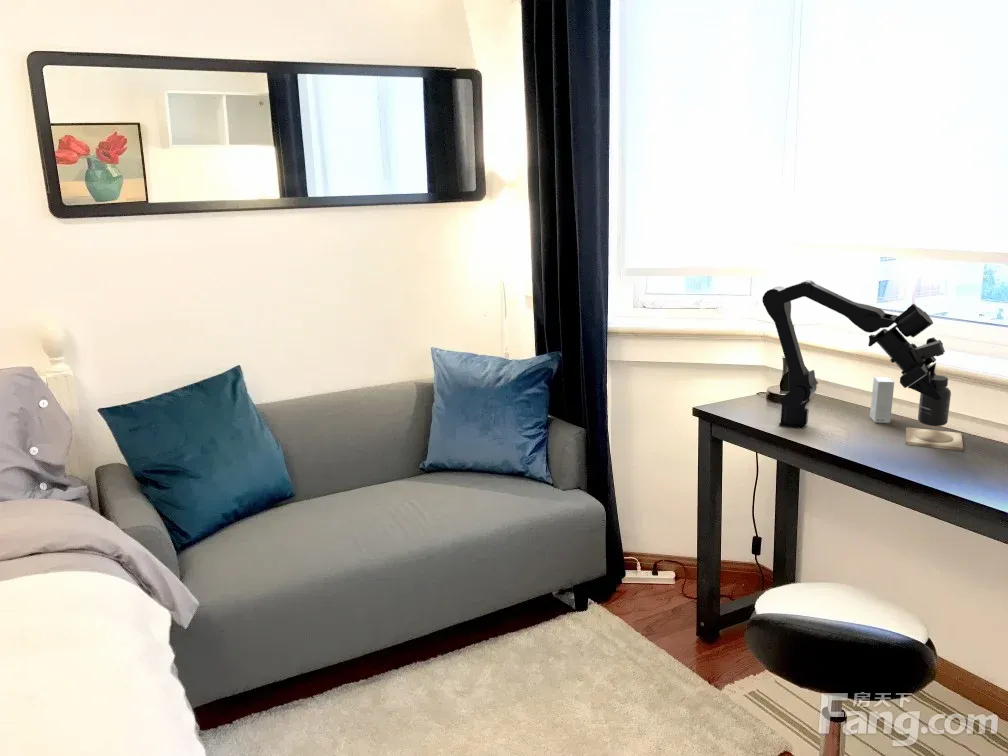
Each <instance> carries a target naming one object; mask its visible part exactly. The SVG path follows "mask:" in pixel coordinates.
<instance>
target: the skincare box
mask: <svg viewBox="0 0 1008 756" xmlns="http://www.w3.org/2000/svg"><path fill="white" fill-rule="evenodd" d="M894 387H895V381H893V380H892V379H891V378H890V377H888V376H887V377H885V376H884V377H883V376H873V383H872V391H871V392H872V393H871V403H870V411H869V418H870V419H871V420H872V421H873V422H874V423H877V424H883V423H884V424H890V423H891V417H892V408H893V407H892V406H893V399H894V398H893V397H894Z"/></svg>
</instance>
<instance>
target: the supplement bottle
mask: <svg viewBox="0 0 1008 756" xmlns="http://www.w3.org/2000/svg"><path fill="white" fill-rule="evenodd" d="M930 381H931V383H932V384H933V386H934V387H935V389H936V390H937V392H938V393H939V395H940V397H941V399H939V400H935V399H933V398H931V397H929V396H927V395H924V394H922V393H920V392H919V393H920V394H919V404H918V412H917V413H918V415H917V420H918V422H919V423H920V424H923V425H927V426H929V427H930V426H932V427H941V426H942V427H943V426H946V424H947V423H948V421H949V415H950V414H949V412H950V405H951V396H952V392H951V389H950V388H948V384H949V378H948V377H947V376H945V375H940V374H936V375H930Z"/></svg>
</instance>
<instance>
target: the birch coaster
mask: <svg viewBox="0 0 1008 756" xmlns="http://www.w3.org/2000/svg"><path fill="white" fill-rule="evenodd" d="M905 429H906V430H905V445H909V446H918V447H926V448H935V449H943V450H952V451H960V452H963V451H964V444H963V436H962V433H961V432H954V431H945V430H936V429H925V428H916V427H906V428H905Z"/></svg>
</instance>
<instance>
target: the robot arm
mask: <svg viewBox="0 0 1008 756" xmlns="http://www.w3.org/2000/svg"><path fill="white" fill-rule="evenodd" d="M804 297H805V298H807V299H809V300H812V301H813V302H816V303H817V304H820V305H822V306H824V307H826V308H828V309H830V310H832V311H834V312H836V313H838V314H840V315H842V316H844V317H846V318H847V319H848V320H849V321H850V322H852V323H853V324H854V325H855V326H856V327H857V328H859V329H860V330H862V331H864V332H865V333H870V335H869V336H868V345H867V346H868V347H872V346H874V345H875V344H877V345H879V346H880V348H881V349H882V350H883V351H884V352H885V353H886V355H888V356H889V357H890V359H889V361H890V362H891V364H894V363H895V364H896V366H898V368H899V369H900V370H901V376H900V378H899V384H900V385H901V386H902V387H903V388H904V389H906V388H908V389H911V390H913V391H916V392H918V393H922V394H924V395H927V396H929V397H931V398H933V399H935V400H939V399H941V397H940V395H939V393H938V392H937V390H936V389H935V387H934V386H933V384H932V383H931V381H930V375H937V373H936V366H937V362H936V361H937V359H936V357H940V356H942V355H944V354H945V353H946V350H945V348H944V345H943V344H944V343H943V342H942V341H941V340H940V339H936V338H935V337H930V338H927V340H926V343H924V344H921V345H919V346H917V345H916V344H915V343H910V342H909V341H908V340H907V339H906V338H909V337H911V338H916V337H917V336H918V335H919V334H921V333H922V332H923V331H925V330H927V329H928V328H929V327H930V326H932V325H933V324H934V322H933V319H932V318H931V316H929V314H928V313H927V312H926V311H924V310H923V309H921V308H920V307H918V306H917V304H915V303H912V304H911V305H910V306H908V307H907V309H906V310H904V311H903V312H901V313H900V314H899V315H896V314H892V313H886V312H885V311H884V310H883V309H881V308H879V307H876V306H873V305H869V304H865V303H859V302H856V301H852V300H851V299H848V298H847V297H844V296H842V295H841V294H838V293H836V292H834V291H831V289H827V288H825V287H823V286H821V285H820V284H817V283H815V282H814V281H813V280H809V279H808V280H807V279H806V280H805V281H802V282H800V283H797V284H794V285H791V286H788V287H784V286H776V287H773V288H771V289H768V290H767V291H765V293H764V294H763V296H762V298H761V299H762V304H763V307H764V308H765V309H766V312H767V314H768V315H769V316H770V318H771V320H773V323H774V324H775V328H776V331H777V336H778V338H779V342H780V345H781V349H782V353H783V355H784V360H785V362H786V366H787V369H788V376H787V377H788V378H787V379H788V380H787V385H788V392H786V393H785V394H784V395H783V396H782V397H780V398H779V399H780V400H779V401H780V404H781V412H780V422H779V423H778V426H781V427H788V428H793V429H794V428H795V429H804V428H805V426H806V425H807V424H808V423H809V412H810V410H809V408H808V403H807V401H808V399H810V398H811V397H813V395H814V394H815V393H816V391H817V385H818V384H819V382H818V381H817V378H816V374H815V370H814V369H812V370H809V369H808V368H807V367H806V365H805V362H804V359H803V355H802V352H801V349H800V348H801V347H800V344H799V341H798V338H797V334H796V331H795V327H794V325H793V320H792V318H791V317H792V301H795V300H798V299H800V298H804ZM893 324H895V325H894V326H893V327H891V326H892V325H893ZM890 327H891V328H890ZM887 328H890V329H887ZM880 329H881V330H880ZM877 331H879V332H878V333H876V334H871V333H875V332H877ZM905 337H906V338H905ZM932 363H933V364H932ZM930 364H932V365H930Z"/></svg>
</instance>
